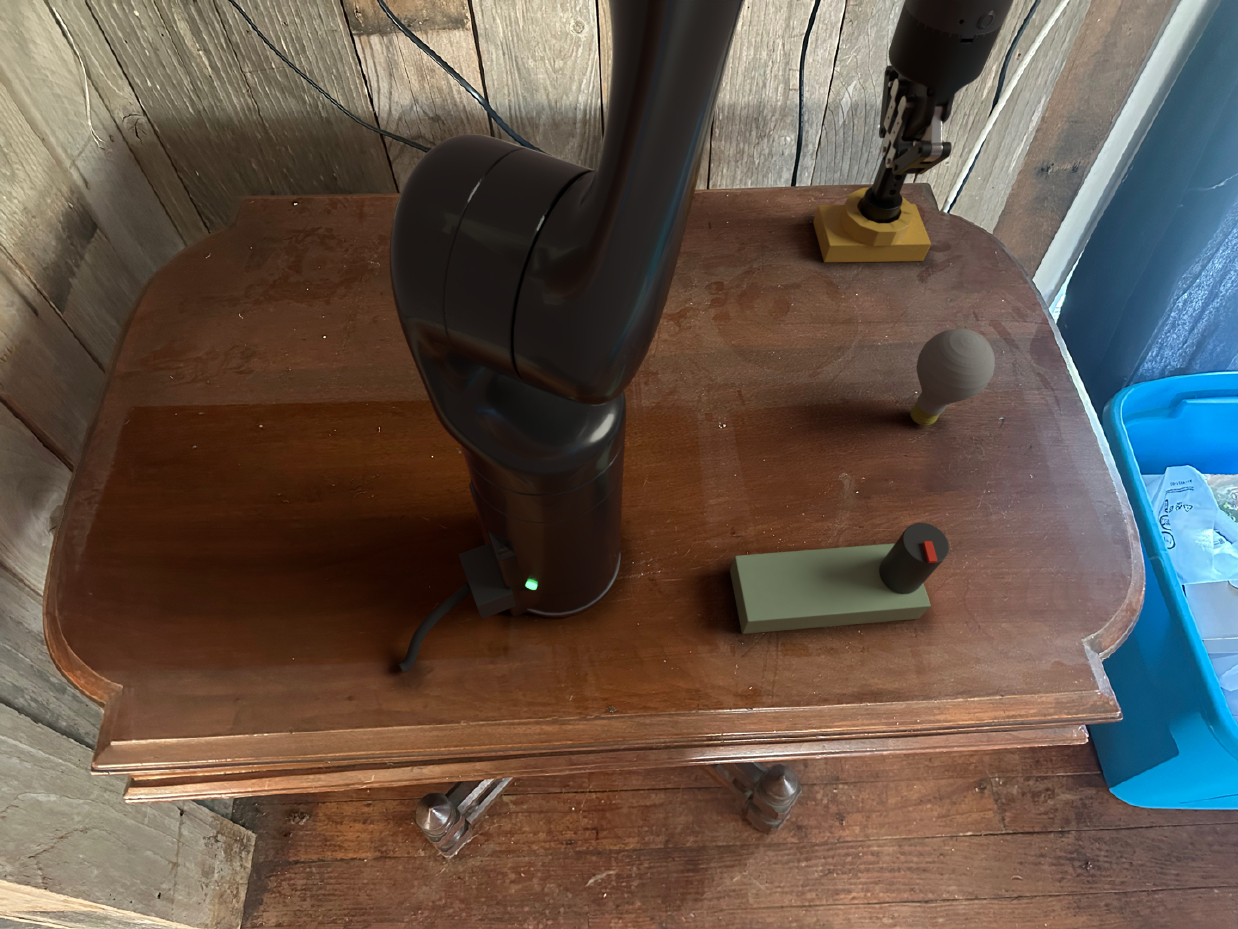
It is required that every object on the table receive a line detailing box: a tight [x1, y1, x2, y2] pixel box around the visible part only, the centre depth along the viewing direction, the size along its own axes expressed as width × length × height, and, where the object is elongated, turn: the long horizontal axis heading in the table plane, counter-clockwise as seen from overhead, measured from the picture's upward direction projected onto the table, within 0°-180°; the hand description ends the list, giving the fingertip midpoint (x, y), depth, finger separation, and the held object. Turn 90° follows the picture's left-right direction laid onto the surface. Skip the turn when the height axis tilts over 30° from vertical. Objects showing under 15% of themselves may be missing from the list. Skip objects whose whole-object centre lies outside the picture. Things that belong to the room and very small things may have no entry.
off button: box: [860, 186, 903, 223], centre depth 72 cm, size 4×4×2 cm
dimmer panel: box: [729, 542, 932, 635], centre depth 54 cm, size 13×5×2 cm, turn 95°
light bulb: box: [910, 328, 996, 427], centre depth 60 cm, size 5×6×10 cm
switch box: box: [812, 187, 932, 263], centre depth 74 cm, size 10×6×4 cm, turn 92°
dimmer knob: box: [879, 522, 950, 594], centre depth 51 cm, size 3×3×5 cm
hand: (883, 195), depth 71 cm, fingers closed
